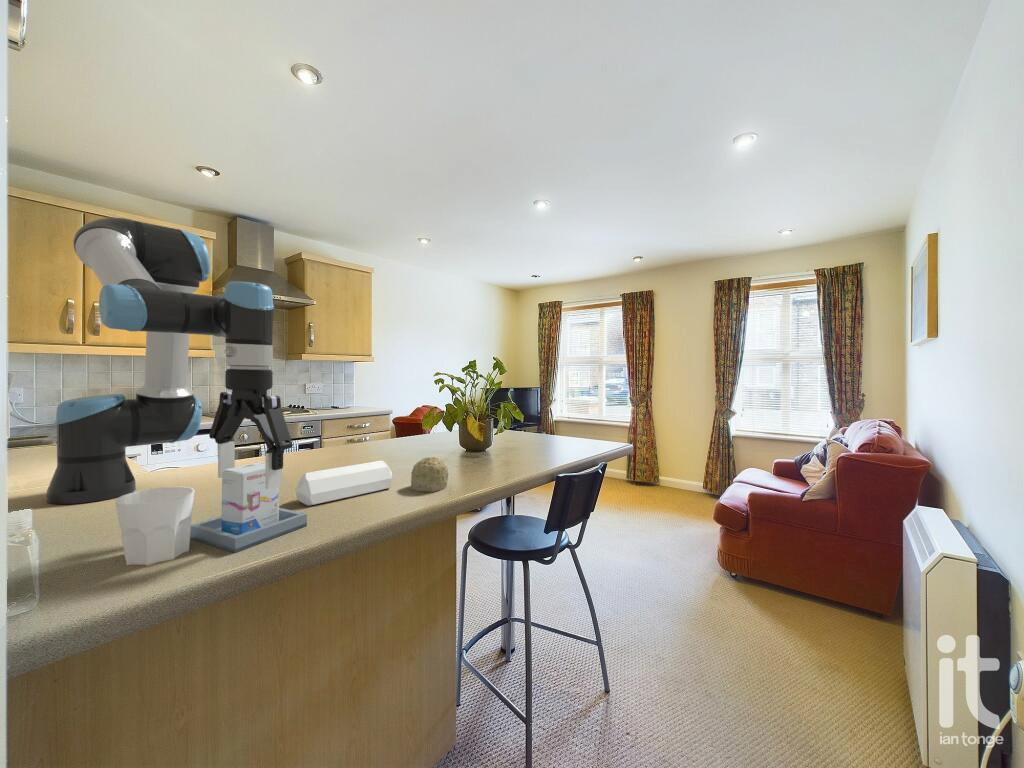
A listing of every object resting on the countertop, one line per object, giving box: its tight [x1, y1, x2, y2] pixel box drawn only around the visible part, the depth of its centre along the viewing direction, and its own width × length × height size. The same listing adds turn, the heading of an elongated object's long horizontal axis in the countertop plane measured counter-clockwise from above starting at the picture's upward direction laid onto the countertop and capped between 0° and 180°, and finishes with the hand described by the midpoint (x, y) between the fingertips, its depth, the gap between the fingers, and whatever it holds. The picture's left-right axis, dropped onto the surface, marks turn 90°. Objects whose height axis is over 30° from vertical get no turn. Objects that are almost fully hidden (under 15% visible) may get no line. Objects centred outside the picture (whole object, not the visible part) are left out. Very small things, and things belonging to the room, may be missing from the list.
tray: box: [190, 507, 308, 554], centre depth 82 cm, size 13×14×2 cm
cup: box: [114, 486, 195, 566], centre depth 72 cm, size 10×10×10 cm
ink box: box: [221, 461, 280, 536], centre depth 82 cm, size 9×5×12 cm, turn 163°
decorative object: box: [410, 456, 449, 493], centre depth 114 cm, size 9×10×10 cm
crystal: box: [294, 460, 393, 506], centre depth 107 cm, size 7×7×24 cm
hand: (249, 481), depth 82 cm, fingers open, 13 cm apart
